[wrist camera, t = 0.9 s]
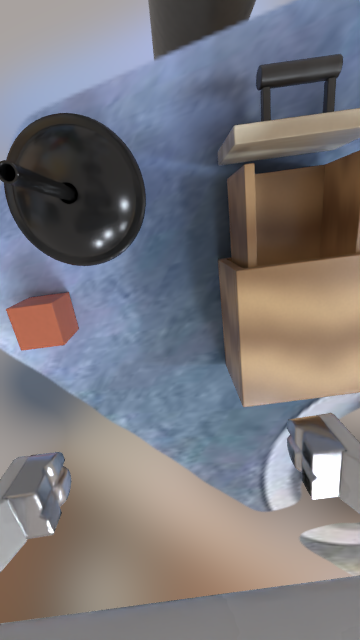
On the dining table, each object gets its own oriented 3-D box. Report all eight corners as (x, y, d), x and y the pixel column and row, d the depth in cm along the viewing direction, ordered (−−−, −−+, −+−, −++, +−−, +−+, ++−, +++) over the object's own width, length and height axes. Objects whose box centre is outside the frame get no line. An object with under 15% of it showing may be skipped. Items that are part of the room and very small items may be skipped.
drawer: (213, 98, 23) (230, 49, 17) (339, 80, 23) (403, 24, 17) (225, 279, 29) (241, 294, 23) (327, 266, 29) (371, 277, 22)
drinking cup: (82, 165, 26) (-163, -10, 7) (159, 174, 26) (131, 34, 7) (84, 245, 28) (-91, 279, 9) (154, 252, 29) (124, 298, 10)
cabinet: (217, 258, 29) (235, 270, 21) (329, 244, 29) (390, 250, 21) (225, 364, 34) (243, 407, 26) (321, 352, 34) (370, 391, 25)
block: (29, 297, 30) (5, 309, 25) (68, 292, 30) (51, 302, 25) (41, 333, 31) (21, 350, 27) (79, 328, 31) (64, 345, 27)
